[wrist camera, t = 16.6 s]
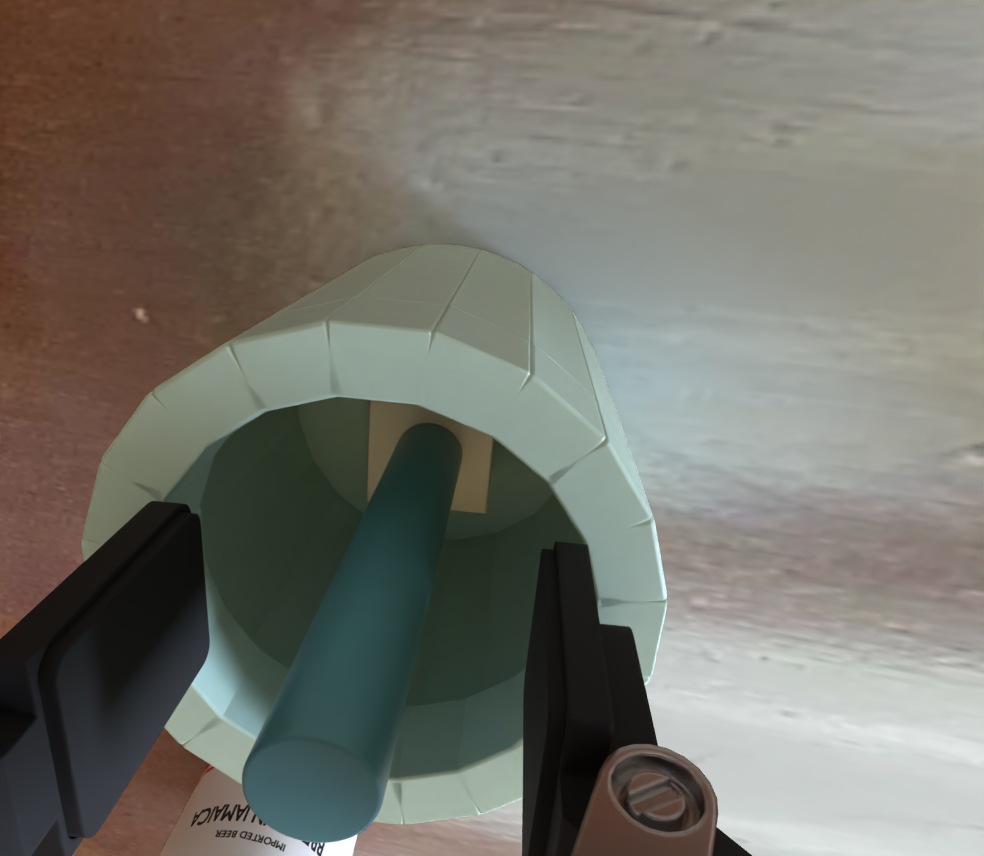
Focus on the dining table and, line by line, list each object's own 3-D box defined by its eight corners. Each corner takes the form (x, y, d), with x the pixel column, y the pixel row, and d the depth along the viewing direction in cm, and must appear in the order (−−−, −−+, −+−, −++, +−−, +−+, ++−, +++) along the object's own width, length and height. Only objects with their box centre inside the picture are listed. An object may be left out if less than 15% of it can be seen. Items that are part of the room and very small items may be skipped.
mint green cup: (286, 227, 21) (44, 291, 10) (624, 260, 20) (720, 358, 10) (291, 526, 24) (114, 794, 14) (579, 556, 24) (616, 849, 14)
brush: (390, 357, 21) (166, 668, 8) (501, 368, 21) (455, 700, 8) (386, 460, 22) (185, 873, 9) (492, 471, 22) (437, 901, 9)
